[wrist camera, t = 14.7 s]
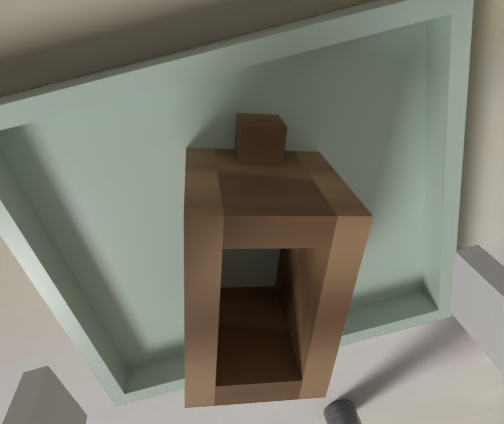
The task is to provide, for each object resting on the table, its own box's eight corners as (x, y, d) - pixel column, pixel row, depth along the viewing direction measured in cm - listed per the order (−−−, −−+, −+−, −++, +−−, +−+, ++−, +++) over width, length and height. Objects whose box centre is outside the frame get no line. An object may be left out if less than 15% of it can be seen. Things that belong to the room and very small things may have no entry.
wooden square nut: (293, 302, 22) (325, 397, 17) (186, 305, 21) (184, 408, 16) (325, 116, 17) (385, 170, 11) (185, 110, 16) (183, 165, 11)
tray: (-37, 106, 15) (-75, 124, 13) (435, -15, 15) (475, -18, 13) (122, 369, 24) (116, 406, 21) (428, 287, 24) (451, 316, 22)
